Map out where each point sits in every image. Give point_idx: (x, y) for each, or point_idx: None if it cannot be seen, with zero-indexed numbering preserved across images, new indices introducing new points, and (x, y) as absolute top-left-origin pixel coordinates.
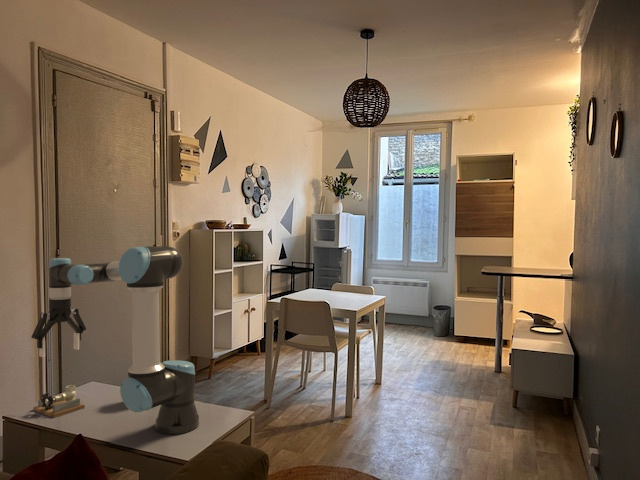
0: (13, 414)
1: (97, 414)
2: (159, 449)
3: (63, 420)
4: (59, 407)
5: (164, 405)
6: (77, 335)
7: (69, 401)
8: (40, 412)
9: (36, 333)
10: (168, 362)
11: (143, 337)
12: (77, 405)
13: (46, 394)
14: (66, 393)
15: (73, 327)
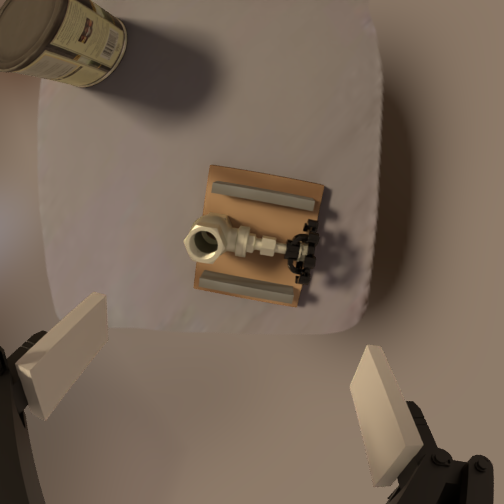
0: (343, 322)
1: (238, 77)
2: None
3: (326, 138)
4: (295, 196)
5: None
6: (41, 361)
7: (253, 192)
8: None
9: (489, 498)
10: None
11: None
12: (225, 182)
13: (315, 257)
14: (229, 237)
15: (24, 451)
